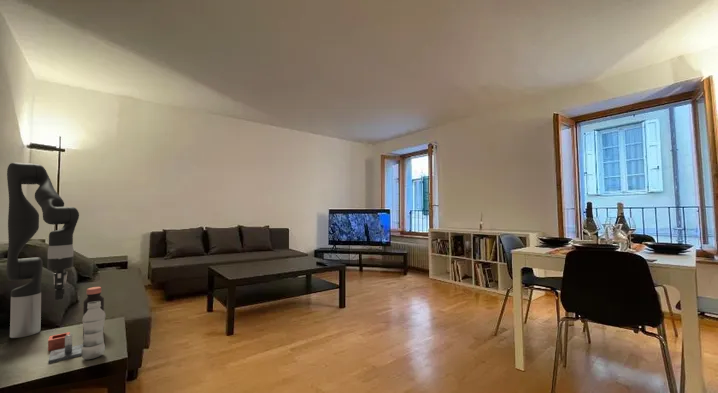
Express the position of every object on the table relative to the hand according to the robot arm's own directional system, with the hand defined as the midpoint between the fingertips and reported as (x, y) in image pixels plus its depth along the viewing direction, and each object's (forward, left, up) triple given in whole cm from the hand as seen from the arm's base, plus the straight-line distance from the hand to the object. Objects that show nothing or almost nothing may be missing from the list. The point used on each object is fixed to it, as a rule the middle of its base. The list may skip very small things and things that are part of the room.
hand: (59, 297), depth 124 cm
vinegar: (-6, +11, -20) cm, 23 cm away
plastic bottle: (+22, +10, -20) cm, 31 cm away
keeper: (+12, +3, -20) cm, 23 cm away
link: (0, 0, -20) cm, 20 cm away
